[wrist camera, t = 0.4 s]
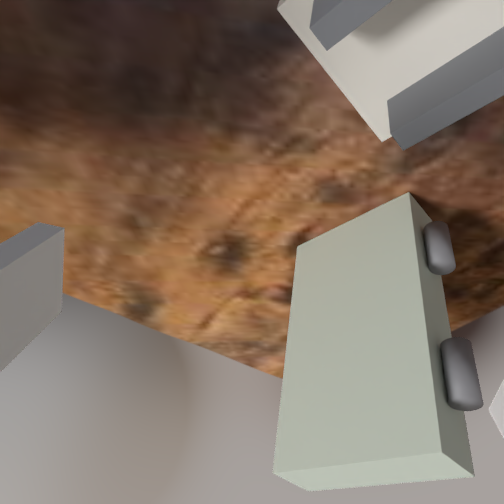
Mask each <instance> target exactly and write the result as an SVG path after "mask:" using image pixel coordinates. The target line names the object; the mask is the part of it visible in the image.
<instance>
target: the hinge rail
mask: <svg viewBox="0 0 504 504" xmlns="http://www.w3.org/2000/svg"><path fill="white" fill-rule="evenodd" d="M277 10H278V11H279V13H280V14H281V15H282V16H283V18H284V19H285V20H286V21H287V23H288V24H289V25H290V26H291V28H292V29H293V30H294V32H295V33H296V34H297V35H298V37H299V38H300V39H301V40H302V42H303V43H304V44H305V45H306V47H307V48H308V49H309V50H310V52H311V53H312V54H313V56H314V57H315V58H316V59H317V61H318V62H319V63H320V64H321V66H322V67H323V68H324V69H325V71H326V72H327V73H328V75H329V76H330V77H331V78H332V80H333V81H334V82H335V83H336V85H337V86H338V87H339V88H340V90H341V91H342V92H343V94H344V95H345V96H346V97H347V99H348V100H349V101H350V102H351V104H352V105H353V106H354V107H355V109H356V110H357V111H358V113H359V114H360V115H361V116H362V118H363V119H364V120H365V121H366V123H367V124H368V125H369V126H370V128H371V129H372V130H373V131H374V133H375V134H376V135H377V137H378V138H379V139H380V140H381V142H383V141H385V140H386V139H388V138H390V137H393V138H394V139H395V140H396V142H397V143H398V144H399V146H400V147H401V148H402V150H405V149H407V148H409V147H411V146H413V145H414V144H416V143H418V142H420V141H422V140H423V139H425V138H427V137H429V136H431V135H433V134H434V133H436V132H438V131H440V130H442V129H443V128H445V127H447V126H449V125H451V124H453V123H454V122H456V121H458V120H460V119H462V118H463V117H465V116H467V115H469V114H471V113H473V112H474V111H476V110H478V109H480V108H482V107H483V106H485V105H487V104H489V103H491V102H493V101H494V100H496V99H498V98H500V97H502V96H503V95H504V0H280V1H279V3H278V7H277Z"/></svg>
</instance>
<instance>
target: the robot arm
mask: <svg viewBox="0 0 504 504" xmlns="http://www.w3.org/2000/svg"><path fill="white" fill-rule="evenodd" d="M63 256H64V228H62V227H57V226H53V225H48V224H44V223H39V222H38V223H36V224H34V225H33V226H31V227H29V228H27V229H26V230H24V231H22V232H20V233H19V234H17V235H15V236H13V237H11V238H10V239H8V240H6V241H4V242H3V243H1V244H0V372H1V371H2V370H3V369H4V368H5V367H6V366H7V365H8V364H9V363H10V362H11V361H12V360H13V359H14V358H15V357H16V356H17V355H18V354H19V353H20V352H21V351H22V350H23V349H24V348H25V347H26V346H27V345H28V344H29V343H30V342H31V341H32V340H33V339H34V338H35V337H37V336H38V334H40V333H41V331H43V330H44V329H45V328H46V327H47V326H48V325H49V324H50V323H51V322H52V321H53V320H54V319H55V318H56V317H57V316H58V315H59V314H60V313H61V312H62V286H63ZM488 410H489V412H490V414H491V416H492V418H493V420H494V421H495V423H496V425H497V427H498V429H499V431H500V433H501V434H502V437H503V438H504V379H503V382H502V383H501V385H500V388H499V389H498V391H497V393H496V395H495V397H494V399H493V401H492V403H491V405H490V407H489V409H488Z"/></svg>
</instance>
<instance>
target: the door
mask: <svg viewBox="0 0 504 504" xmlns="http://www.w3.org/2000/svg"><path fill="white" fill-rule="evenodd" d="M455 268H456V264H455V259H454V254H453V249H452V244H451V239H450V234H449V229H448V225H447V224H446V223H445V222H442V221H433V222H432V220H431V219H430V217H429V216H428V215H427V214H426V212H425V211H424V210H423V209H422V207H421V206H420V205H419V204H418V203H417V201H416V200H415V199H414V198H413V196H412V195H411V194H410V193H409V192H408V193H406V194H404V195H402V196H400V197H398V198H396V199H394V200H391V201H389V202H387V203H385V204H383V205H381V206H379V207H377V208H375V209H373V210H371V211H369V212H367V213H365V214H363V215H361V216H359V217H357V218H355V219H353V220H351V221H348V222H346V223H344V224H342V225H340V226H338V227H336V228H334V229H332V230H330V231H328V232H326V233H324V234H322V235H320V236H318V237H316V238H314V239H312V240H310V241H308V242H306V243H303V244H301V245H299V246H297V256H296V265H295V274H294V283H293V292H292V301H291V310H290V319H289V328H288V337H287V346H286V355H285V365H284V374H283V384H282V393H281V402H280V410H279V419H278V428H277V437H276V446H275V455H274V464H273V474H275V475H277V476H279V477H281V478H283V479H285V480H287V481H289V482H291V483H293V484H295V485H297V486H299V487H301V488H303V489H305V490H307V491H317V490H328V489H341V488H351V487H363V486H374V485H386V484H397V483H409V482H421V481H432V480H443V479H455V478H466V477H474V476H475V475H474V469H473V463H472V457H471V451H470V445H469V439H468V433H467V427H466V421H465V415H464V411H472V410H477V409H479V408H481V407H482V406H483V400H482V395H481V390H480V385H479V379H478V374H477V369H476V364H475V360H474V355H473V349H472V345H471V342H470V341H469V340H468V339H465V338H461V337H453V338H452V337H451V331H450V325H449V320H448V314H447V308H446V302H445V296H444V290H443V284H442V278H441V275H445V274H449V273H451V272H452V271H454V269H455Z"/></svg>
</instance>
